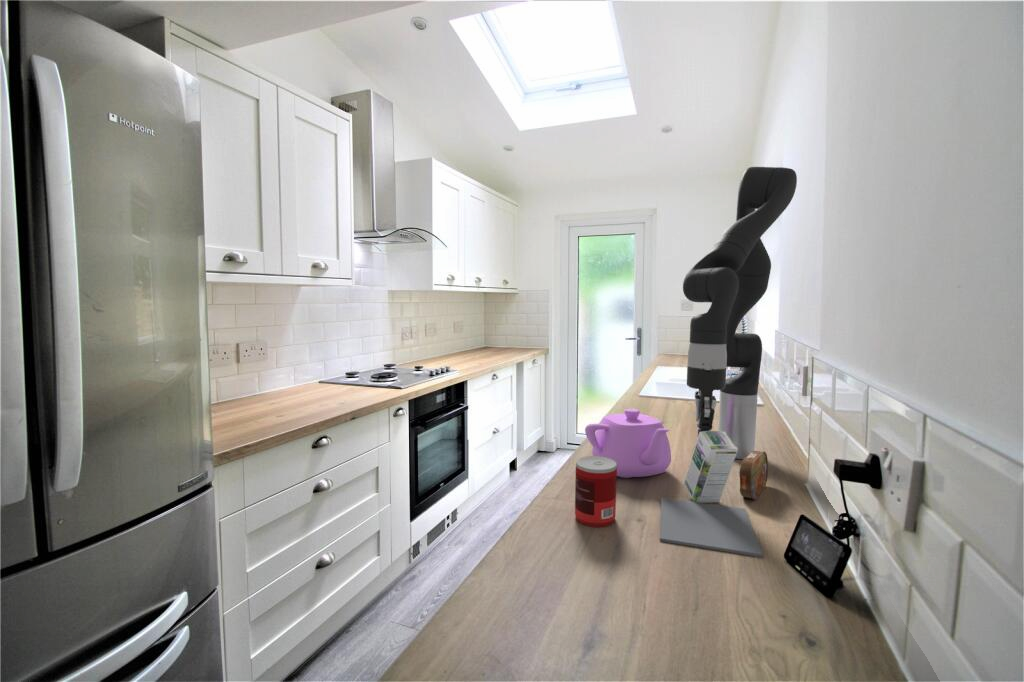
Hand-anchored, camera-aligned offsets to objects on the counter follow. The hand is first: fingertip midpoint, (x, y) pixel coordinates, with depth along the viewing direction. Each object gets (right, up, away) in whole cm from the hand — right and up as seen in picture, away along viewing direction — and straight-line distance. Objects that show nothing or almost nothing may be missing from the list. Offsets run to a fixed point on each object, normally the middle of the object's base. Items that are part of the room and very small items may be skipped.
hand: (703, 446), depth 99 cm
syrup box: (0, -10, +1) cm, 10 cm away
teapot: (-10, -10, +17) cm, 23 cm away
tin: (+13, -11, +5) cm, 18 cm away
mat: (-4, -12, -11) cm, 17 cm away
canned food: (-24, -12, -9) cm, 28 cm away
